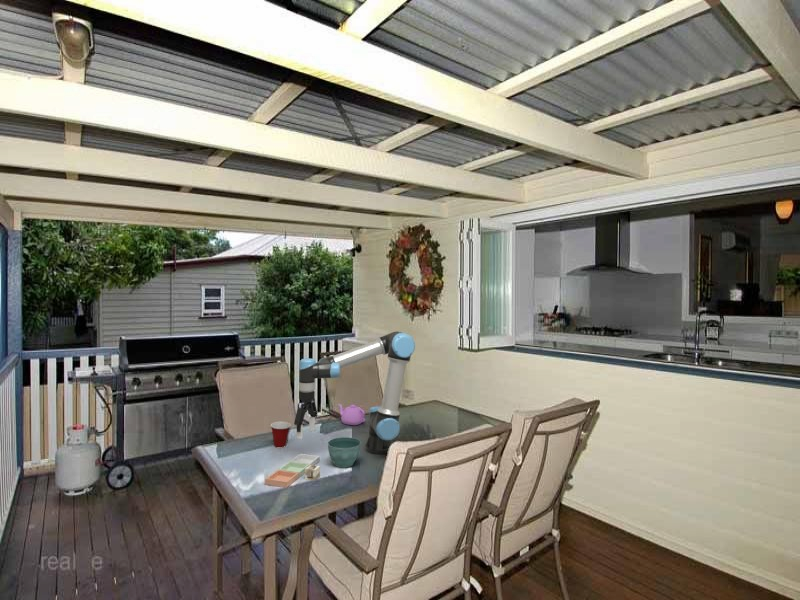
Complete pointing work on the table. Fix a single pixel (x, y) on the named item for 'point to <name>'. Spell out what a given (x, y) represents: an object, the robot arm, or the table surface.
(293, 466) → the box sage
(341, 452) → the flower pot
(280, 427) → the plastic cup
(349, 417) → the teapot
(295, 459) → the box grey
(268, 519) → the table surface
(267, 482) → the box terracotta
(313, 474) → the letter cube
